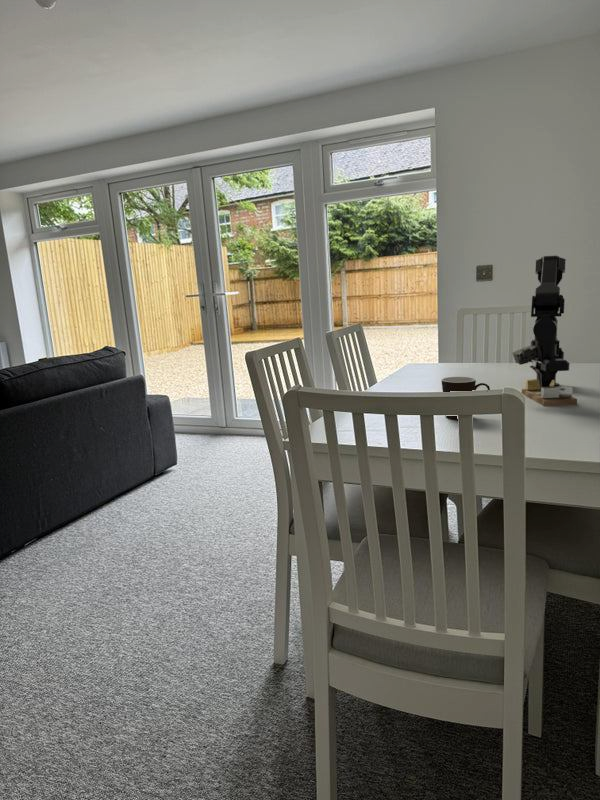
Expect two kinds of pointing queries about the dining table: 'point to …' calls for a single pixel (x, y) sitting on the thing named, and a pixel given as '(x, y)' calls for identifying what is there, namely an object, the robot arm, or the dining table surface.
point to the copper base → (537, 397)
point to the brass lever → (535, 384)
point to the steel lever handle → (556, 392)
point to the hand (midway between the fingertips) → (543, 391)
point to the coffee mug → (459, 386)
